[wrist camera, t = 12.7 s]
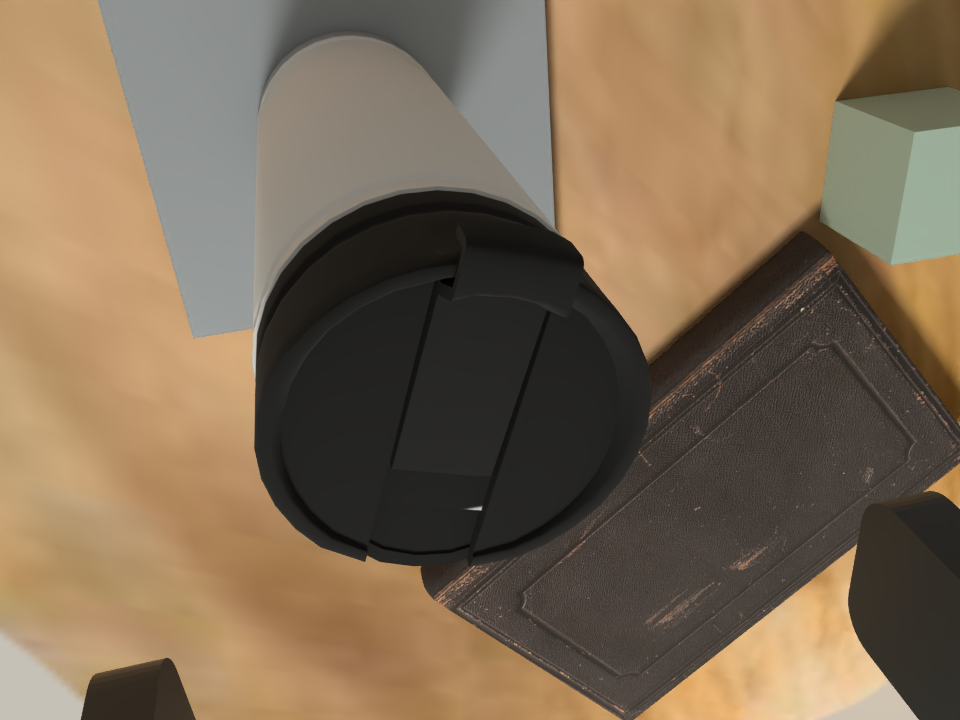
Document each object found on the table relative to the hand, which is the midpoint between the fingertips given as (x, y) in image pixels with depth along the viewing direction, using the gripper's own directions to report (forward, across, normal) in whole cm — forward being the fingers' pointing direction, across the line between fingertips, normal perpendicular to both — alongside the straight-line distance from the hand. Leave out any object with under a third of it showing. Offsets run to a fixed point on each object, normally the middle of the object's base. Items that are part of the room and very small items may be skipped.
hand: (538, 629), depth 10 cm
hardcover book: (+25, -14, +21) cm, 35 cm away
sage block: (+25, -21, +5) cm, 33 cm away
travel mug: (+24, 0, 0) cm, 24 cm away
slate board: (+24, 0, 0) cm, 24 cm away
